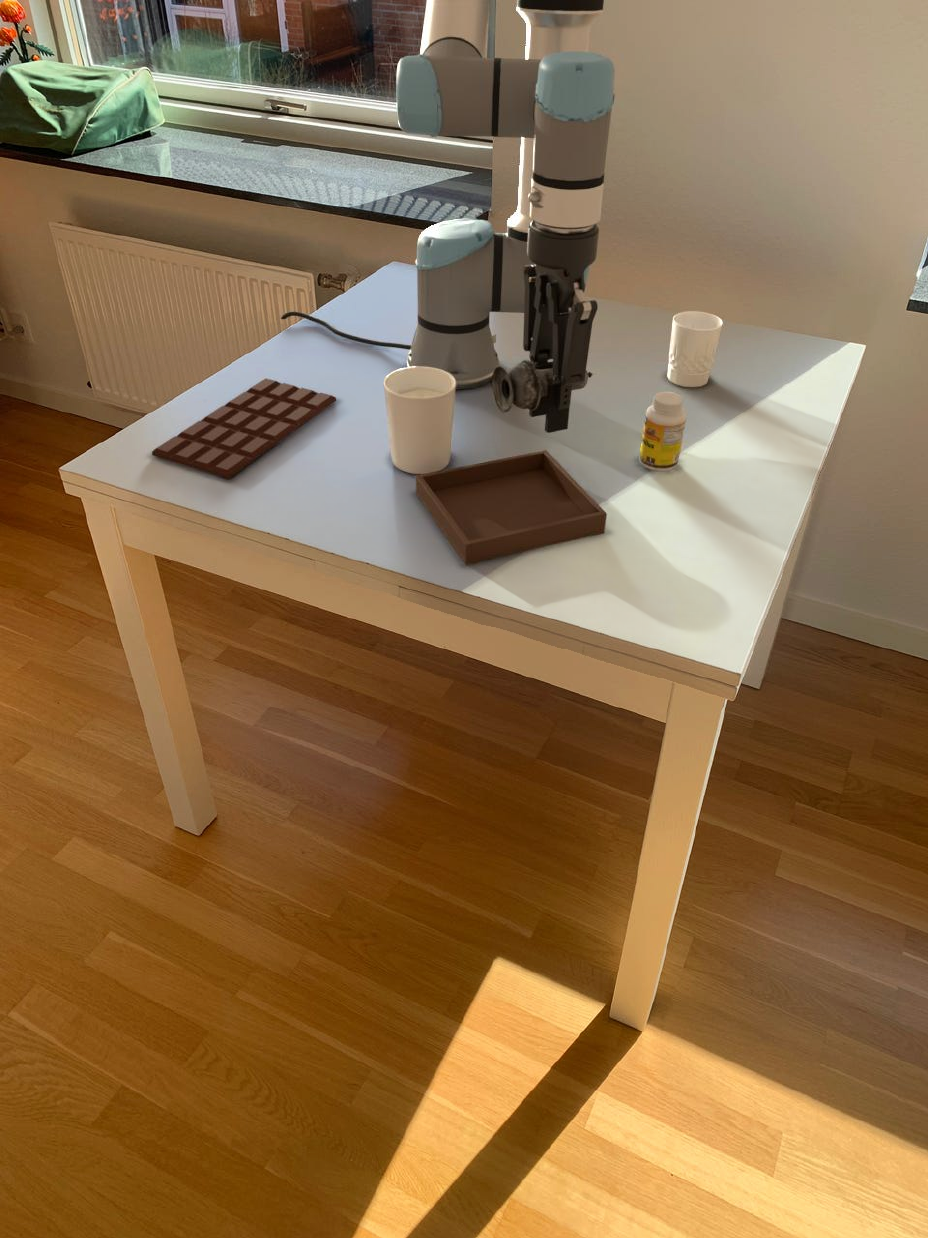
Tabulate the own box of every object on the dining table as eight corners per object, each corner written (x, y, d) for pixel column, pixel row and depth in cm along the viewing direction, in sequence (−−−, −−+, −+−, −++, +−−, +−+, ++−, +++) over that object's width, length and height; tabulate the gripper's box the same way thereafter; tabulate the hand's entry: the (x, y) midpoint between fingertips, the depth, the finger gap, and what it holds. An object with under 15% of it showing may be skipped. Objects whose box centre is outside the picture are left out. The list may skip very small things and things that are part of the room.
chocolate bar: (265, 382, 156) (265, 376, 155) (336, 400, 151) (335, 394, 151) (152, 455, 137) (150, 448, 136) (229, 478, 132) (228, 472, 132)
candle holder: (404, 483, 132) (401, 403, 125) (375, 451, 139) (372, 374, 132) (467, 467, 136) (469, 389, 129) (436, 437, 143) (436, 360, 135)
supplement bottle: (633, 455, 140) (642, 389, 133) (669, 452, 141) (680, 387, 134) (645, 474, 136) (656, 408, 129) (683, 471, 136) (695, 405, 130)
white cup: (658, 369, 163) (667, 311, 156) (704, 368, 163) (715, 310, 157) (670, 389, 157) (680, 330, 150) (717, 388, 157) (729, 329, 151)
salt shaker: (487, 369, 114) (577, 354, 118) (497, 418, 115) (586, 402, 119) (506, 359, 109) (599, 344, 112) (516, 411, 109) (608, 394, 113)
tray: (465, 564, 118) (465, 544, 116) (415, 494, 130) (415, 475, 129) (604, 532, 124) (607, 513, 122) (544, 468, 136) (546, 449, 135)
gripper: (499, 203, 107) (491, 397, 122) (569, 251, 95) (551, 459, 110) (559, 196, 109) (544, 387, 124) (635, 242, 98) (609, 447, 112)
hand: (548, 421), depth 117 cm, fingers closed on salt shaker, 3 cm apart
